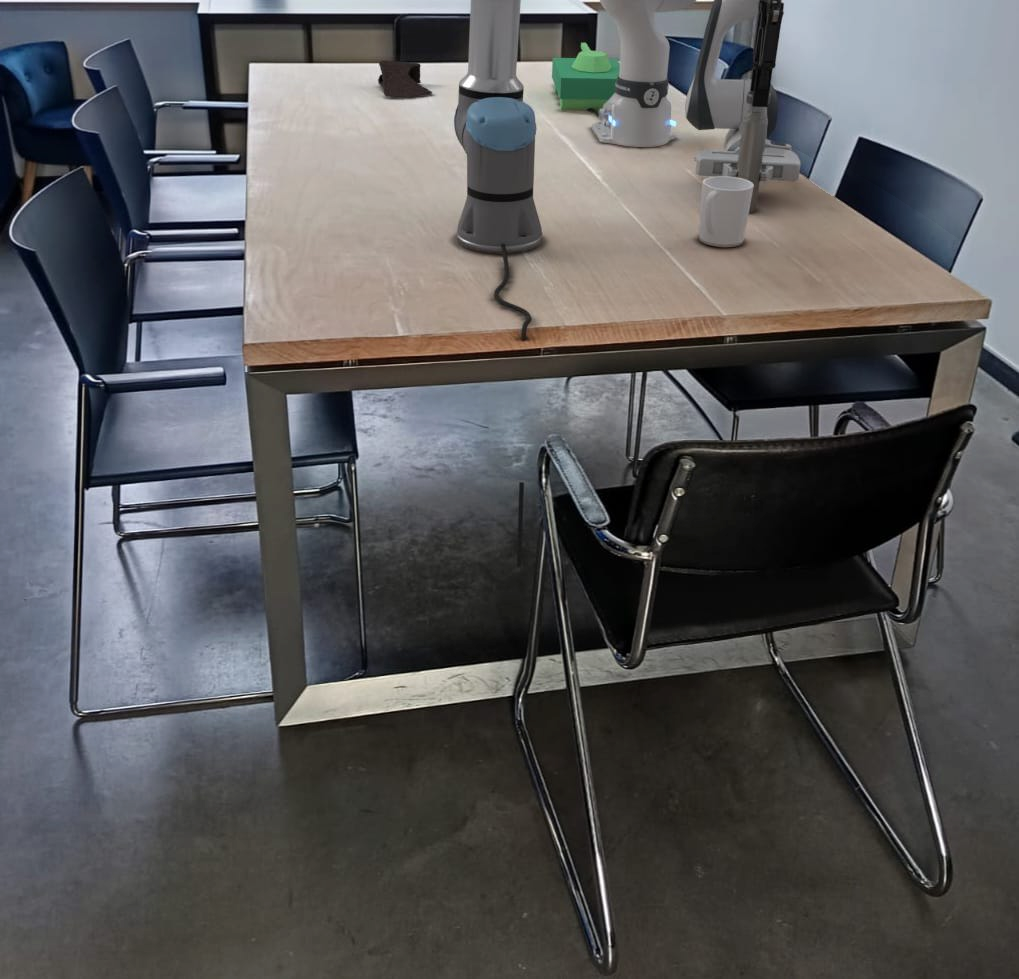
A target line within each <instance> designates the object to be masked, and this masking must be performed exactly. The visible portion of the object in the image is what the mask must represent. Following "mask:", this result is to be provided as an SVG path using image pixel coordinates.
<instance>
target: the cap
mask: <svg viewBox="0 0 1019 979" xmlns="http://www.w3.org/2000/svg"><path fill="white" fill-rule="evenodd" d="M753 94H754V91H749V92H748V95H747V100H746V102H747V103H748V104H751V105H752V102H753ZM770 95H771V94H770V93H769V98H768V104H770V97H771V96H770Z"/></svg>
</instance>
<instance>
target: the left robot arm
mask: <svg viewBox="0 0 1019 979" xmlns="http://www.w3.org/2000/svg"><path fill="white" fill-rule="evenodd" d="M782 1H783V0H782ZM782 1H781V0H759V2H758V16H756V17H757V19H756V27H755V35H754V42H753V50H752V53H751V54H752V58H753V60H752V61H753V64H752V72H751V86H750V91H754V94H753V102H752V107H767V105H768V98H769V91H770V84H771V85H772V75H773V71H774V70H773V69H775V68H776V65H777V63H776V62H777V57H778V56H777V55H778V47H779V42H780V35H781V28H782V21H783V16H784V14H785V11H784V9H785V7H784V6H785V3H784V2H782ZM521 2H522V0H470V14H469V36H468V38H469V39H468V61H467V62H468V64H467V73H466V75H464V76H463V77H462V78H461V79H460V80H459V82H458V101H457V102H458V103H457V106H456V108H455V112H454V116H453V127H454V133H455V136H456V138H457V140H458V142H459V144H460V146H461V147H462V149H463V150H464V153H465V154H466V192H467V193H466V198H465V202H464V205H463V209H462V211H461V214H460V218H459V220H458V224H457V228H456V241H457V243H458V244H459V245H461V246H462V247H464V248H466V249H468V250H470V251H475V252H479V253H486V254H497V255H499V254H500V255H502V260H503V267H504V268H503V269H504V270H503V271H504V274H503V275H504V276H503V279H502V282H501V283H500V284H499V285H498V286H497V287H496V289H495V290H494V293H493V297H494V299H495V301H496V302H497V303H498V304H500V305H502V306H504V307H507V308H508V309H511V310H513V311H516V312H519V313H520V314H522V315H523V316H524V317H525V318H526V319H525V320H524V321H523V323H522V327H521V333H520V340H521V342H525V341H527V331H528V326H529V325H530V323H531V322H532V319H533V318H532V315H531V314H530V312H529V311H527V309H525V308H523V307H521V306H518V305H516V304H514V303H511V302H509V301H506V300H504V299H503V298H501V297H500V295H499V294H500V292H501V291H502V290H503V289H504V288H505V286H506V285H507V284H508V281H509V277H510V275H509V274H510V267H509V266H510V265H509V258H508V254H517V253H524V252H527V251H530V250H533V249H536V248H538V247H539V246H540V245H541V244H542V243H543V229H542V224H541V221H540V220H541V219H540V218H539V214H538V213H539V212H538V210H537V206H536V204H535V199H534V183H535V181H534V180H535V157H536V156H535V154H536V152H535V151H536V135H537V123H536V114H535V111H534V109H533V108H532V106H530V105H529V104H528V103H526V102H524V91H525V90H524V89H525V86H524V84H523V83H522V82H521V80H520V79H519V78H518V76H517V67H518V66H517V65H518V52H519V51H518V50H519V36H520V35H519V34H520V19H521ZM518 485H519V486H518V511H517V512H518V513H517V514H518V516H517V517H518V519H517V522H518V523H517V549H516V567H517V568H522V554H523V529H524V528H523V525H524V492H525V482H522V481H519V484H518Z"/></svg>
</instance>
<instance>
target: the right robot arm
mask: <svg viewBox="0 0 1019 979" xmlns="http://www.w3.org/2000/svg"><path fill="white" fill-rule="evenodd" d="M696 1H697V0H599V2H600V5H601V6H602V8H603V9H604V10H605V11H606V12H607V13H608V14H609V15H610V16H611V18H612V20H613V21H614V23H615V26H616V29H617V33H618V37H619V63H620V69H619V76H618V77H617V80H616V83H615V89H614V91H615V93H614V94H613V95H612V97H611V98H610V99H609V100H608V101H607V102H606V103H605V104H604V105H603V109H599V110H595V109H592V108H590V109H587V110H585V112H586V111H587V112H590V113H592V114H594V115H596V116H597V117H598V119H599V120H601V121H600V122H594V123H592V124H591V130H592V131H593V133H594V134H595V136H596V137H597V139H598V140H599V142H600V143H603V144H613V145H619V146H624V147H634V148H651V147H652V148H653V147H659V146H663V145H666V144H668V143H669V142H670V141H673V140H675V139H676V134H675V133H674V132H672V126H673V127H676V126H677V121H675V120H673V119H672V103H671V101H670V100H669V99H668V98H667V96H668V94H669V93H668V92H669V85H670V84H669V78H668V71H669V61H670V49H671V48H670V43H669V40H668V39H667V37H666V36H665V35H664V34H663V33H661V32H659V31H658V30H657V26H656V22H655V14H657V13H666V12H667V13H669V12H675V11H679V10H682V9H684V8H687V7H690V6H692V5H694V4H695V3H696ZM781 1H783V0H781ZM758 2H759V0H713V2H712V5H711V9H710V12H709V16H708V19H707V23H706V26H705V28H704V34H703V38H702V40H701V41H702V42H701V46H700V50H699V55H698V58H697V63H696V67H695V72H694V75H693V76H694V77H693V79H692V82H691V84H690V86H689V89H688V92H687V95H686V98H685V101H684V102H685V103H684V114H685V120H687V121H688V122H689V124H690V125H691V126H693V127H694V128H695V129H696V130H698V131H709V130H715V129H717V130H718V129H720V130H721V129H722V130H723V129H724V130H728V131H727V133H726V135H725V138H724V141H723V146H722V148H723V149H722V150H721V149H702V150H701V151H699V153H698V154H695V155H694V162H695V174H696V175H698V176H701V177H715V176H729V177H736V175H737V164H738V156H739V148H740V140H741V133H742V125H743V119H744V116H745V114H746V112H747V111H748V110H749V105H750V104H748V103H747V102H746V100H747V95H748V92H749V91H750V86H751V79H752V78H751V79H750V78H749V79H748V78H744V79H726V78H725V79H724V78H717V77H716V76H715V74H716V70H717V66H718V62H719V58H720V54H721V50H722V46H723V41H724V38H725V36H726V35H727V33H728V32H729V31H730V30H731V29H733V28H734V27H735V26H737V25H738V24H740V23H742V22H745V21H748V20H750V19H753V18H756V17H758ZM769 93H770V94H771V95H770V96H771V97H770V104H768V105H767V107H765V111H766V114H767V118H768V125H767V132H766V139H765V146H764V153H763V161H762V168H761V174H760V182H764V183H765V182H768V181H783V182H797V181H798V180H799V178H800V174H801V173H800V172H801V167H802V166H801V165H802V164H801V159H800V157H799V156H798V154H797V153H796V152H795V151H793V150H792V149H793V148H792V145H791V144H789V143H784V142H779V141H774V140H770V139H769V138H770V137H771V136H772V134H773V133H774V132H775V130H776V126H777V121H778V112H779V103H778V95H777V91H776V89H775V87H774V86H773V85H772V83H771V84H770V91H769Z"/></svg>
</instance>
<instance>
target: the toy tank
mask: <svg viewBox="0 0 1019 979" xmlns="http://www.w3.org/2000/svg"><path fill="white" fill-rule="evenodd" d="M580 49H581V51H580V52H578V54H577V56H576V57H552V62H551V63H552V65H551V66H552V67H551V79H552V81H553V84H554V92H555V93H556V94H557V95H558V99H559V107H560V110H561V111H586V110H587V109H590V108H592V109H595V110H597V111H599V109H603V105H604V104H605V103H606V102H607V101H608V100H609V99H610V98H611V97H612V95H613V94H614V93H615V91H614V89H615V83H616V80H617V77H618V76H619V69H620V61H618V59H617V58H609V57H608V54H607V53H605V52H603V51H601V50H600V51H598V50H591V48H590V47H589V45H588V44H587V42H581V43H580Z"/></svg>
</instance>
